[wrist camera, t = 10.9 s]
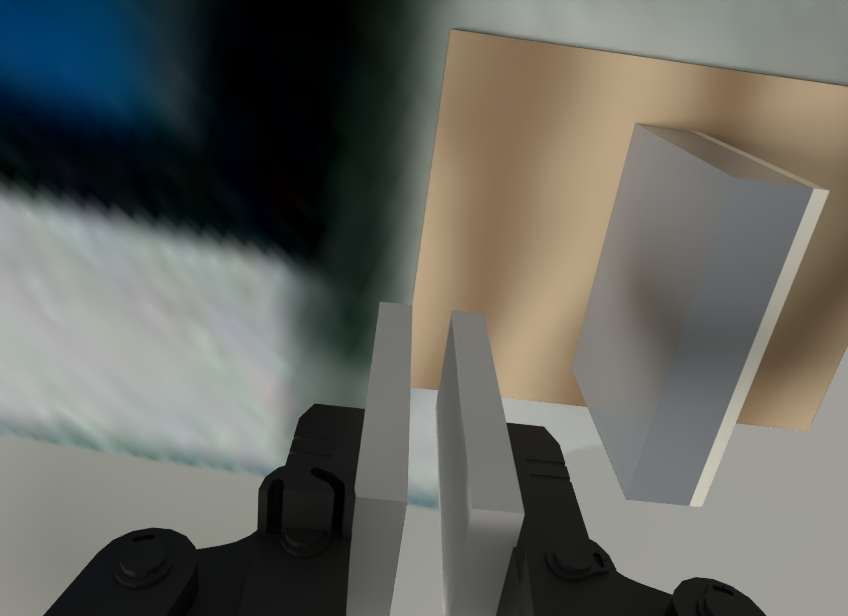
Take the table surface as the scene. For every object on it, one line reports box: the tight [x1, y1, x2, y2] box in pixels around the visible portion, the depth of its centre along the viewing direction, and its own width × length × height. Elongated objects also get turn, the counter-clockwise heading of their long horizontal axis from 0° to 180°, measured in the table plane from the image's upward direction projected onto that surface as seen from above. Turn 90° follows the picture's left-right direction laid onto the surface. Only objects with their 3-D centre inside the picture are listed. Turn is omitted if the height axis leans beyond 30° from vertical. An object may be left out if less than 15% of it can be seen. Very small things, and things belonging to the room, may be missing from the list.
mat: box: [410, 29, 848, 431], centre depth 25 cm, size 18×14×1 cm
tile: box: [571, 123, 829, 507], centre depth 21 cm, size 2×10×8 cm, turn 172°
